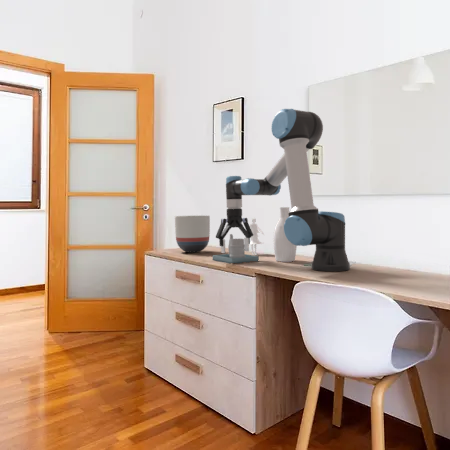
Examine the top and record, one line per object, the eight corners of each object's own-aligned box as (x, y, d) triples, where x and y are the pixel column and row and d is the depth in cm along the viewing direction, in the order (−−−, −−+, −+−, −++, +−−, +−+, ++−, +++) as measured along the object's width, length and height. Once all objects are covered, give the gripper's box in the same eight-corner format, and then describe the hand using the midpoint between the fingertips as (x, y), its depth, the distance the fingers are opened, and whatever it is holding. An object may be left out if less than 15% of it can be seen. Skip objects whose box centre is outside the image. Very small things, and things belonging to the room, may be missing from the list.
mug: (234, 260, 198) (234, 235, 198) (222, 258, 209) (222, 234, 208) (248, 259, 202) (248, 234, 202) (236, 257, 212) (235, 233, 212)
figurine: (251, 256, 223) (250, 218, 222) (240, 254, 230) (239, 218, 230) (270, 254, 230) (269, 217, 229) (259, 253, 238) (258, 217, 237)
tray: (258, 261, 202) (258, 256, 202) (232, 263, 194) (232, 258, 194) (237, 257, 217) (237, 253, 217) (212, 260, 209) (212, 255, 209)
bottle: (301, 261, 197) (300, 207, 196) (278, 262, 195) (277, 207, 193) (291, 258, 208) (290, 207, 207) (270, 260, 205) (269, 207, 204)
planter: (214, 250, 257) (213, 215, 256) (204, 254, 237) (204, 216, 236) (182, 250, 262) (181, 215, 261) (170, 254, 242) (169, 216, 241)
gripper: (250, 207, 214) (251, 249, 215) (208, 208, 201) (208, 253, 202) (259, 207, 208) (260, 250, 209) (216, 208, 195) (217, 254, 195)
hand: (235, 252), depth 205 cm, fingers open, 13 cm apart
